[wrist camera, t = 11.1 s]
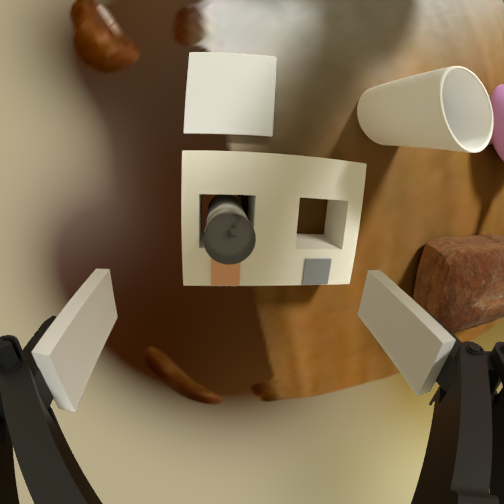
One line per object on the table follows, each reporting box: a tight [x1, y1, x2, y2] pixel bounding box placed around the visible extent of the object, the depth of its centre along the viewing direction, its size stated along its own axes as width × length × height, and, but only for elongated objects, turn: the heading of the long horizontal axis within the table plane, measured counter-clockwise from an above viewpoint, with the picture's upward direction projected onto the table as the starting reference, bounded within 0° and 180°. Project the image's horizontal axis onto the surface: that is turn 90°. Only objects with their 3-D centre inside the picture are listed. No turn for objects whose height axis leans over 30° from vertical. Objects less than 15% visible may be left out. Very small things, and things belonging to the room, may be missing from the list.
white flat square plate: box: [184, 52, 277, 137], centre depth 29 cm, size 10×10×1 cm
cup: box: [357, 66, 493, 153], centre depth 25 cm, size 8×8×16 cm
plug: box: [203, 194, 256, 265], centre depth 29 cm, size 4×4×12 cm
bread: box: [413, 235, 504, 332], centre depth 37 cm, size 14×28×12 cm, turn 91°
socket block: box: [181, 151, 367, 286], centre depth 32 cm, size 14×19×6 cm
